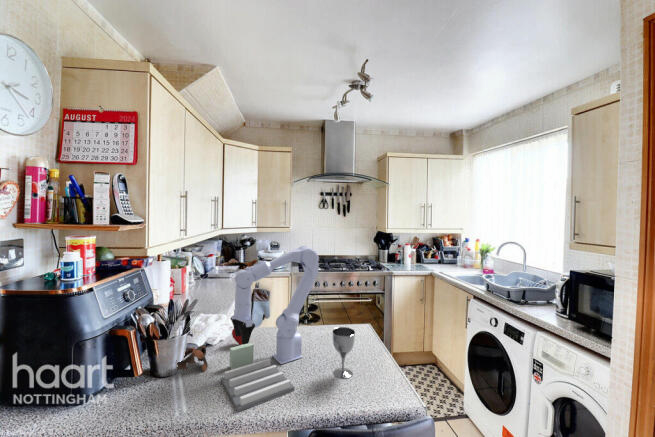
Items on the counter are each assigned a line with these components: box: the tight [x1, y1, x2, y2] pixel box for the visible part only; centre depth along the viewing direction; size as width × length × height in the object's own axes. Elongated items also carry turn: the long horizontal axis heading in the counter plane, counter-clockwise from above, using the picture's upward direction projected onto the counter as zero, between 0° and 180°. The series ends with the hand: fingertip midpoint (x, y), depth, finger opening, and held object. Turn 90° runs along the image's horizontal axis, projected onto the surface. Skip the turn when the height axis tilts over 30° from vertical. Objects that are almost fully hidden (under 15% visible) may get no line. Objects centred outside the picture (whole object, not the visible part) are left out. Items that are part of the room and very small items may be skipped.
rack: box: [220, 358, 295, 413], centre depth 93 cm, size 18×18×3 cm
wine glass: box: [331, 326, 356, 380], centre depth 101 cm, size 8×8×15 cm
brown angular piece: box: [176, 345, 209, 373], centre depth 103 cm, size 12×10×8 cm
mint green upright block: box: [229, 342, 254, 370], centre depth 106 cm, size 8×2×7 cm, turn 125°
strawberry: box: [231, 328, 243, 346], centre depth 121 cm, size 6×8×10 cm
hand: (241, 339), depth 105 cm, fingers open, 7 cm apart
